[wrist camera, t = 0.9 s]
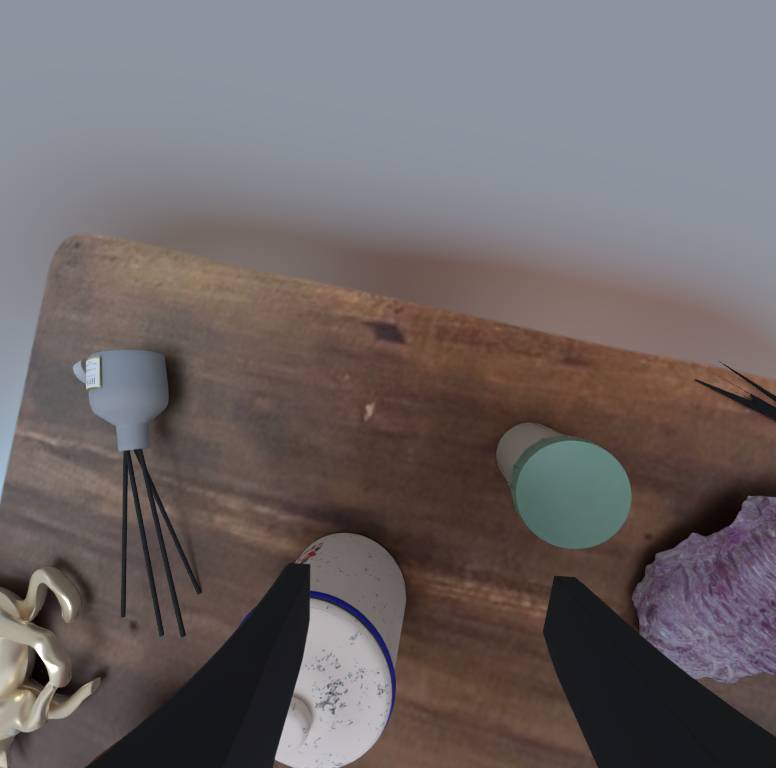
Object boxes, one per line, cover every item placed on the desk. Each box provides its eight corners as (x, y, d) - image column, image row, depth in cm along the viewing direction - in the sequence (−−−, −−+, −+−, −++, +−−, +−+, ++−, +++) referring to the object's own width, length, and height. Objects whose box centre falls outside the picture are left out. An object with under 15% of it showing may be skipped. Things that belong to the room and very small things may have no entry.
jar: (579, 447, 26) (641, 480, 18) (540, 502, 26) (583, 559, 18) (520, 409, 26) (554, 424, 18) (483, 464, 27) (500, 502, 19)
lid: (640, 473, 19) (657, 481, 17) (577, 557, 19) (589, 572, 18) (547, 414, 19) (556, 417, 18) (489, 497, 20) (493, 507, 18)
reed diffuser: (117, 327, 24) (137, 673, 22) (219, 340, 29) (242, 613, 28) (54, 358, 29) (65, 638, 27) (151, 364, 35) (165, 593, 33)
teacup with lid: (310, 509, 29) (221, 600, 17) (426, 554, 28) (414, 684, 16) (265, 654, 30) (150, 833, 18) (375, 703, 28) (329, 929, 17)
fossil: (856, 534, 24) (970, 580, 19) (690, 688, 25) (753, 770, 20) (745, 448, 24) (826, 469, 19) (590, 603, 26) (627, 661, 21)
